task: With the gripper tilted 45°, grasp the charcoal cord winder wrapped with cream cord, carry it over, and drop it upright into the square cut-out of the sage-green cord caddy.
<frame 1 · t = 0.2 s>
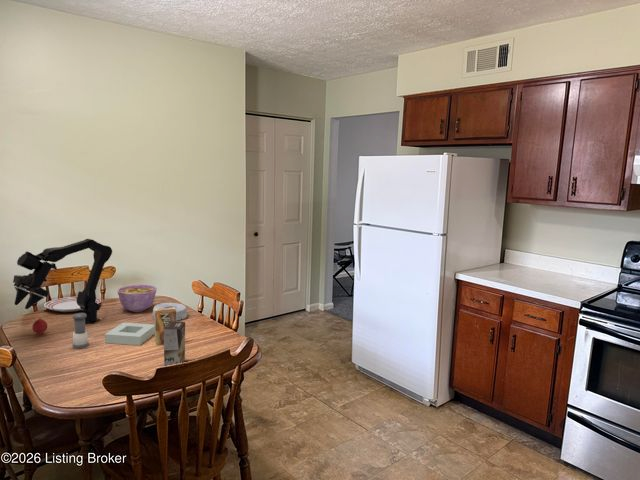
hand: (20, 306, 193), 15 cm above the table, tool tilted 35°, fingers open, 9 cm apart
candy box: (165, 342, 199), on the table
coffee box: (174, 363, 178), on the table
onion: (40, 335, 201), on the table
bowl of food: (137, 310, 243), on the table
cable: (170, 317, 234), on the table
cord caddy: (131, 337, 202), on the table
cord winder: (80, 345, 191), on the table
dinner plate: (73, 307, 242), on the table
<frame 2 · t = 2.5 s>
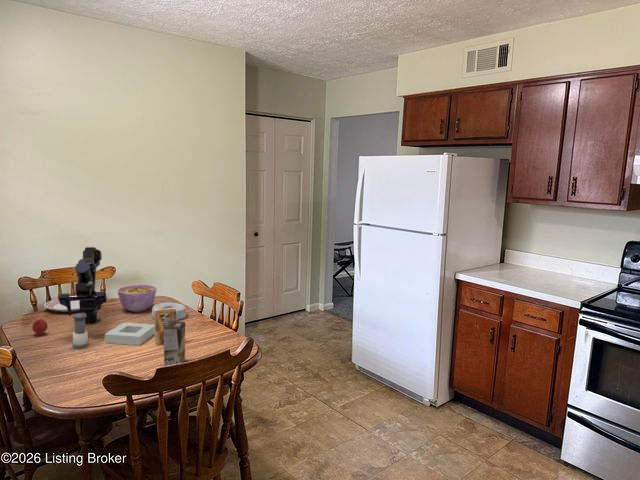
hand: (81, 314, 194), 12 cm above the table, tool tilted 45°, fingers open, 9 cm apart
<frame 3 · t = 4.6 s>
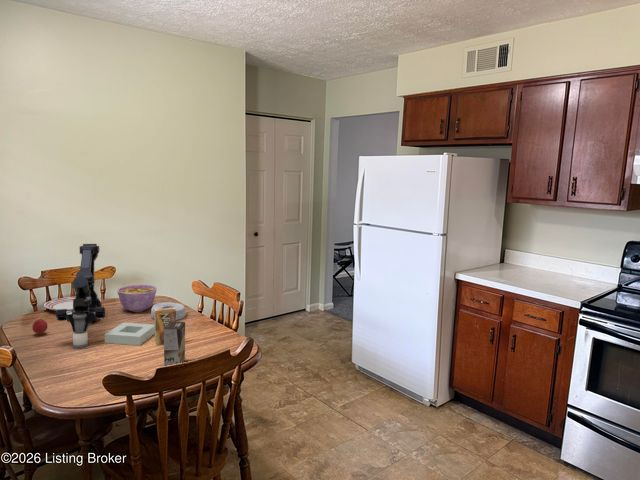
hand: (79, 331, 188), 7 cm above the table, tool tilted 45°, fingers closed on cord winder, 4 cm apart
cord winder: (80, 345, 191), on the table, touching gripper
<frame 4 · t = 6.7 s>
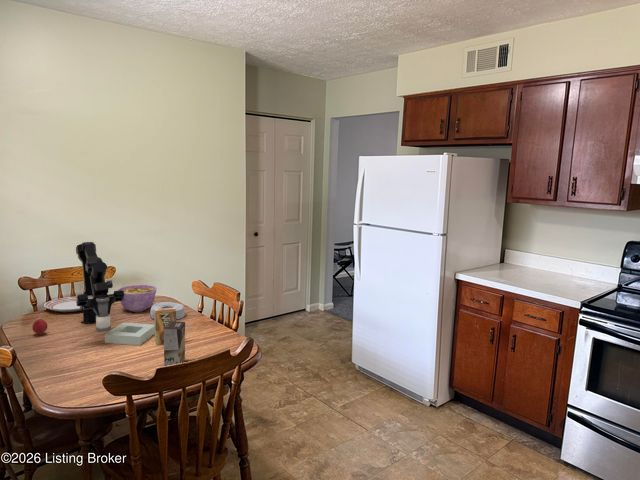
hand: (103, 314, 191), 14 cm above the table, tool tilted 45°, fingers closed on cord winder, 4 cm apart
cord winder: (103, 329, 193), point 7 cm above the table, touching gripper
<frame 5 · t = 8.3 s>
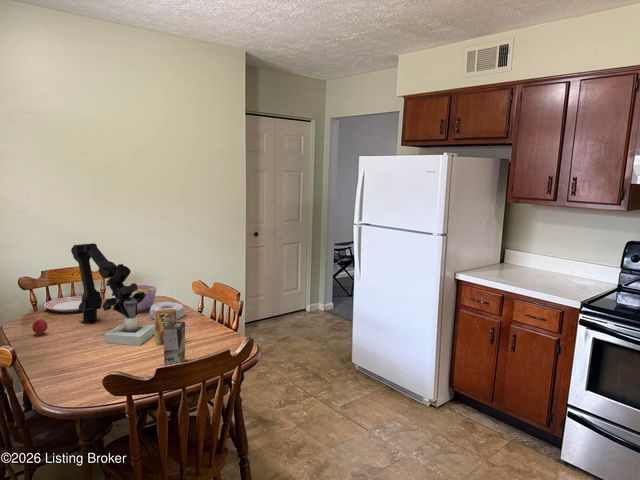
hand: (132, 316, 200), 11 cm above the table, tool tilted 45°, fingers closed on cord winder, 4 cm apart
cord winder: (131, 330, 202), point 4 cm above the table, touching gripper
when the fingers open (8 cm above the table, at t = 9.1 s): cord winder drops 1 cm, resting in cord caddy.
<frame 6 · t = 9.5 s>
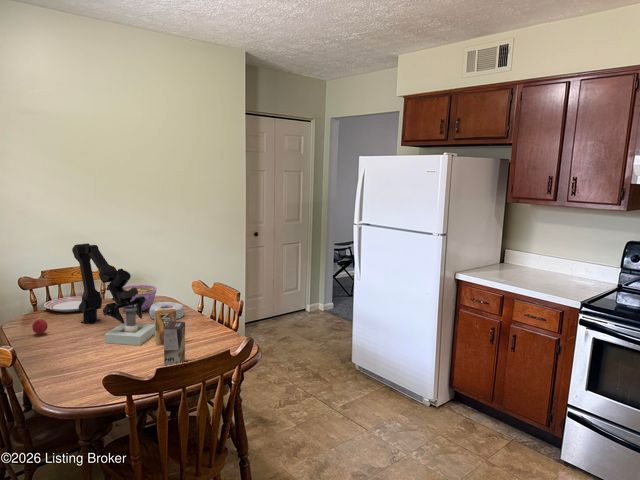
hand: (132, 320, 200), 8 cm above the table, tool tilted 45°, fingers open, 9 cm apart
cord winder: (131, 337, 202), resting in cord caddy
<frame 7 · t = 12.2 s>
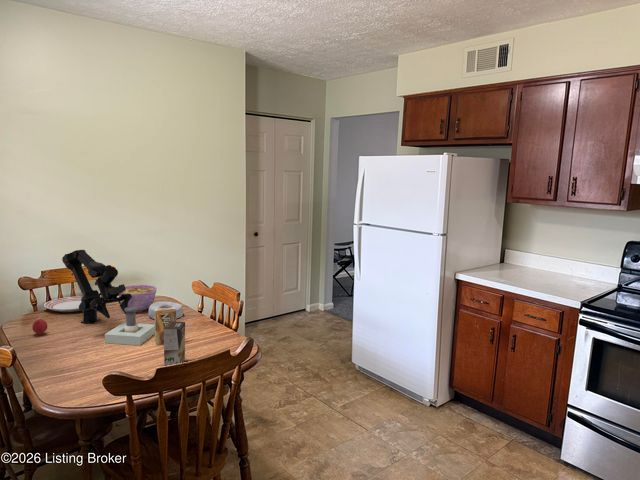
hand: (118, 316, 205), 8 cm above the table, tool tilted 40°, fingers open, 9 cm apart
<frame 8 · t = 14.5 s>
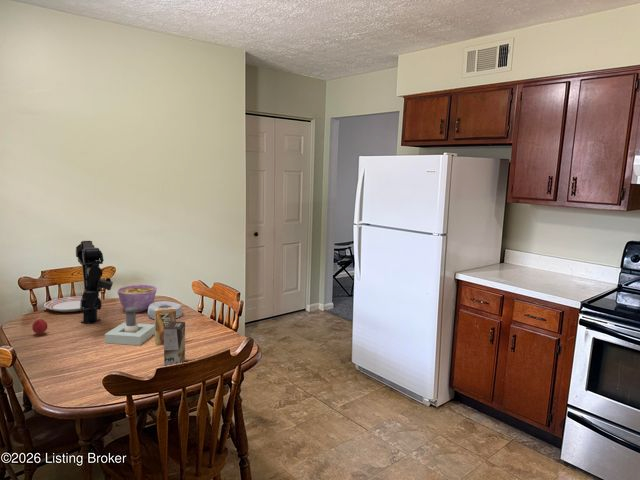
hand: (93, 307, 209), 11 cm above the table, tool pointing down, fingers open, 9 cm apart
at the end: cord winder 0.0 cm off-centre on the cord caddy, point 0.0 cm above the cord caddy's base; cord winder tilted 0°; the gripper is holding nothing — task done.
